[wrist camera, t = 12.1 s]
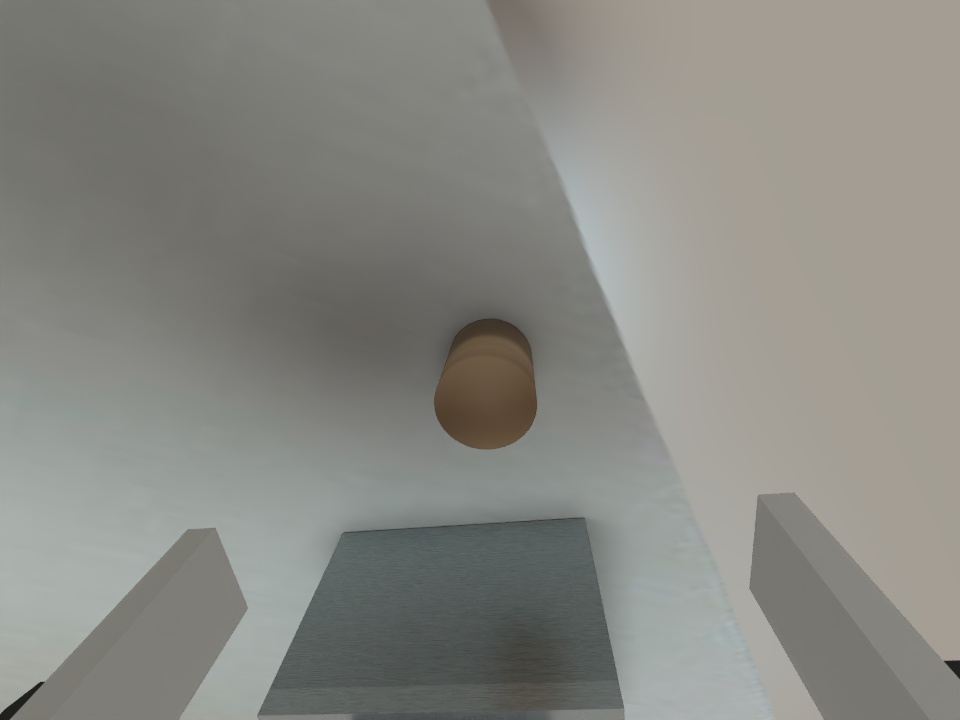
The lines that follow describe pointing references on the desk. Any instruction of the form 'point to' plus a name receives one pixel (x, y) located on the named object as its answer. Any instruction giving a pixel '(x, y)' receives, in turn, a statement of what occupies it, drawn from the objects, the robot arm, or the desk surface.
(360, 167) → the desk surface
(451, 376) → the pellet
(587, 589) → the grey block with socket
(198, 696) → the desk surface
